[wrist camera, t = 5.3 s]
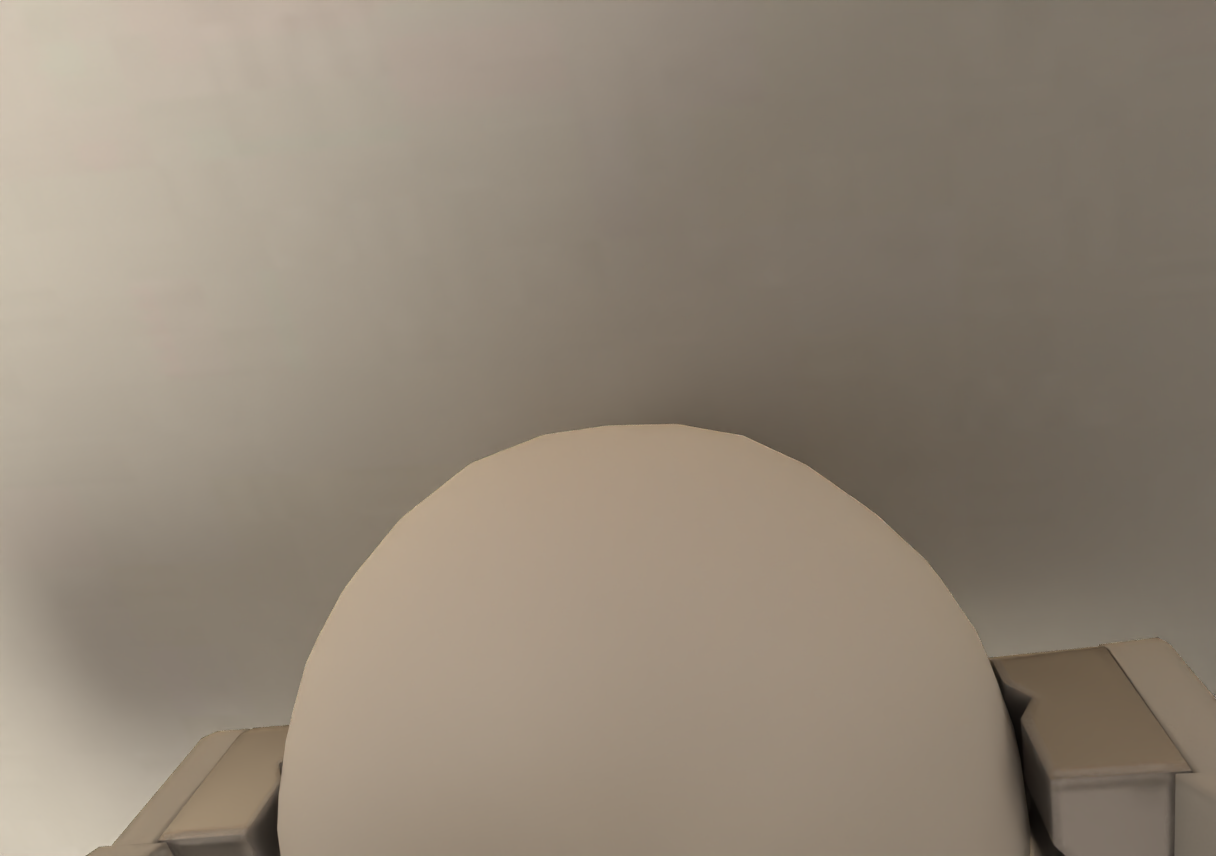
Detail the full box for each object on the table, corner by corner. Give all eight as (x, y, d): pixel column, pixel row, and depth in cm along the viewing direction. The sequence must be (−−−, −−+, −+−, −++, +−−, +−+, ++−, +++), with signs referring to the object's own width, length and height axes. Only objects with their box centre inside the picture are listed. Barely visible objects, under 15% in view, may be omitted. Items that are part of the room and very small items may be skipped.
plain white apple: (920, 299, 10) (1528, 919, 2) (924, 759, 12) (1223, 1758, 5) (380, 358, 11) (-332, 879, 4) (484, 763, 13) (191, 1562, 6)
